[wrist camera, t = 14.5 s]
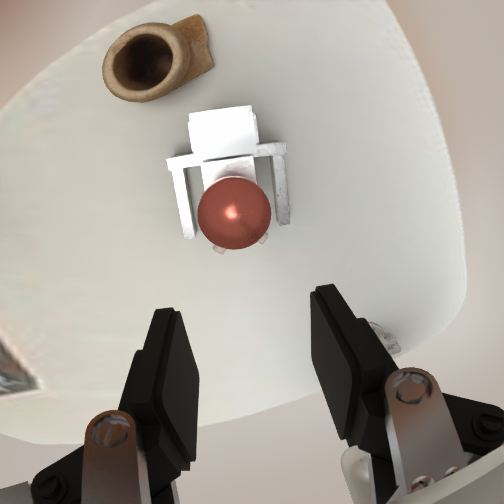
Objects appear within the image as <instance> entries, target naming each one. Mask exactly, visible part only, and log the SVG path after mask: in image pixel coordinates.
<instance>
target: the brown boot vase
mask: <svg viewBox="0 0 504 504" xmlns="http://www.w3.org/2000/svg"><path fill="white" fill-rule="evenodd" d="M207 42H208V39H207V31H206V28H205V24H204V22H203V19H202V17H201V16H200V15H198V14H196V15H193V16H191V17H188V18H186V19H184V20H182V21H179V22H177V23H175V24H173V25H172V26H170V25H167V24H163V23H146V24H141V25H138V26H136V27H134V28H131V29H130V30H128V31H126V32H125V33H124V34H122V35H121V36H120V37H119V38H118V39H117V40H116V41H115V42H114V43H113V44H112V46H111V47H110V48H109V50H108V52H107V54H106V56H105V58H104V61H103V67H102V71H103V79H104V82H105V84H106V86H107V88H108V89H109V90H110V92H111V93H112V94H114V95H115V96H116V97H118V98H120V99H123V100H126V101H129V102H141V103H143V102H148V101H151V100H154V99H156V98H159V97H161V96H163V95H165V94H167V93H169V92H171V91H173V90H174V89H176V88H178V87H179V86H181V85H183V84H184V83H186V82H188V81H189V80H191V79H193V78H194V77H196V76H198V75H199V74H201V73H203V72H205V71H207V70H209V69H210V68H212V67H213V65H214V64H213V60H212V58H211V55H210V52H209V50H208V45H207Z"/></svg>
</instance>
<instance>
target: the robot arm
mask: <svg viewBox="0 0 504 504" xmlns="http://www.w3.org/2000/svg"><path fill="white" fill-rule="evenodd" d="M310 307H311V357H312V362H313V365H314V368H315V371H316V374H317V376H318V379H319V382H320V385H321V387H322V390H323V393H324V395H325V399H326V401H327V404H328V407H329V410H330V413H331V415H332V418H333V421H334V424H335V426H336V430H337V433H338V435H339V438H340V439H341V440H343V439H346V440H347V443H348V446H349V447H350V448H348V449H347V450H346V451H345V452H344V453H343V454H342V457H341V467H342V471H343V474H344V477H345V480H346V483H347V486H348V489H349V491H350V494H351V497H352V500H353V503H354V504H504V410H502V409H501V408H499V407H497V406H495V405H491V404H486V403H482V402H478V401H474V400H470V399H465V398H461V397H457V396H453V395H449V394H445V393H442V392H441V390H440V387H439V385H438V383H437V381H436V380H435V378H434V376H432V375H431V374H430V373H429V372H427V371H425V370H422V369H419V368H414V367H409V368H402V369H399V368H398V367H397V365H396V363H395V362H394V360H393V359H392V357H391V356H390V354H395V353H398V352H400V351H401V347H400V345H399V344H397V338H393V339H390V340H386V339H385V335H384V332H383V331H382V329H381V328H380V327H379V326H378V325H376V324H373V323H368V322H367V320H366V319H365V318H358V319H357V318H356V317H355V315H354V314H353V312H352V311H351V309H350V308H349V306H348V305H347V303H346V302H345V300H344V299H343V297H342V296H341V294H340V293H339V291H338V290H337V288H336V287H335V285H334V284H328V285H322V286H317V287H316V289H315V291H313V292H311V293H310ZM394 344H396V345H394ZM389 345H393V346H391V347H388V346H389ZM198 398H199V372H198V368H197V365H196V362H195V359H194V356H193V353H192V350H191V346H190V343H189V340H188V336H187V333H186V330H185V326H184V323H183V319H182V316H181V313H180V311H175V310H174V308H172V307H171V308H162V309H156V310H155V312H154V315H153V318H152V321H151V324H150V327H149V331H148V334H147V337H146V340H145V343H144V347H143V350H137V351H136V353H135V355H134V358H133V361H132V364H131V367H130V370H129V374H128V377H127V380H126V383H125V387H124V390H123V393H122V397H121V400H120V404H119V407H118V410H109V411H105V412H102V413H101V414H99V415H97V416H96V417H94V418H93V419H92V420H91V421H90V423H89V424H88V426H87V429H86V432H85V441H84V445H83V446H81V447H79V448H78V449H76V450H75V451H73V452H71V453H70V454H68V455H67V456H65V457H63V458H62V459H60V460H59V461H57V462H55V463H53V464H52V465H50V466H48V467H47V468H45V469H43V470H42V471H40V472H39V473H38V474H37V475H36V476H35V478H34V479H33V482H32V484H31V483H30V482H28V481H26V482H23V483H20V484H16V485H13V486H10V487H6V488H3V489H0V504H180V502H179V497H178V492H177V487H176V482H175V479H176V478H178V477H179V476H180V475H181V471H190V462H192V461H195V460H196V443H197V418H198Z"/></svg>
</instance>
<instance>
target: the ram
mask: <svg viewBox="0 0 504 504" xmlns="http://www.w3.org/2000/svg"><path fill="white" fill-rule="evenodd" d="M201 169H202V176H203V182H204V188H205V192H204V193H203V195H202V197H201V200H200V203H199V206H198V223H199V226H200V228H201V230H202V232H203V234H204V235H205V236H206V238H207V239H208V240H209V241H211V242H212V243H213V244H215V245H217V246H219V247H222V248H225V249H234V250H235V249H242V248H246V247H249V246H251V245H253V244H254V243H256V242H257V241H258V240H260V239H261V237H262V236H263V235H264V234H265V232H266V231H267V229H268V226H269V224H270V220H271V208H270V204H269V201H268V199H267V197H266V195H265V194H264V192H263V191H262V189H261V188H260V187H259V186H258V185H257V183H256V174H255V166H254V158H253V155H251V154H242V155H234V156H227V157H220V158H214V159H207V160H203V161H202V163H201Z"/></svg>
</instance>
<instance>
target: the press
mask: <svg viewBox="0 0 504 504" xmlns="http://www.w3.org/2000/svg"><path fill="white" fill-rule="evenodd" d="M189 118H190V122H188V127H189V134H190V141H191V147H192V153H186V154H181V155H175V156H172V157H170V158H168V159H167V164H168V170H172V174H173V180H174V185H175V191H176V196H177V202H178V207H179V213H180V218H181V223H182V228H183V233H184V238H185V239H190V238H195V236H196V232H197V231H196V226H195V220H194V215H193V209H192V203H191V198H190V192H189V186H188V180H187V174H186V167H191V166H197V165H201V163H202V161H203V160H207V159H214V158H220V157H227V156H234V155H242V154H251V155H253V157H261V156H270V162H271V171H272V180H273V189H274V199H275V209H276V219H277V221H278V223H279V225H287V224H290V217H289V205H288V194H287V184H286V173H285V163H284V154H287V151H286V142H281V141H272V142H263V143H259V137H258V129H257V121H256V113H252V108H251V105H247V106H239V107H231V108H223V109H216V110H209V111H203V112H197V113H191V114H189Z"/></svg>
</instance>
